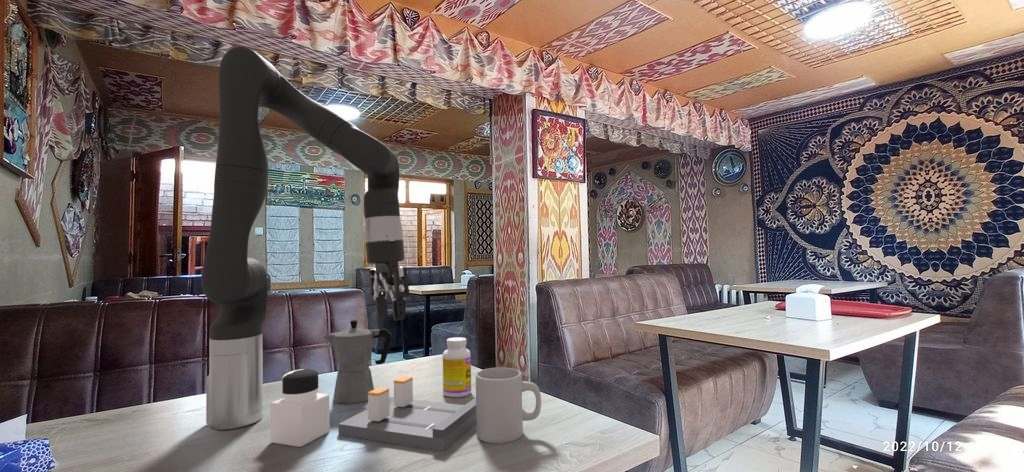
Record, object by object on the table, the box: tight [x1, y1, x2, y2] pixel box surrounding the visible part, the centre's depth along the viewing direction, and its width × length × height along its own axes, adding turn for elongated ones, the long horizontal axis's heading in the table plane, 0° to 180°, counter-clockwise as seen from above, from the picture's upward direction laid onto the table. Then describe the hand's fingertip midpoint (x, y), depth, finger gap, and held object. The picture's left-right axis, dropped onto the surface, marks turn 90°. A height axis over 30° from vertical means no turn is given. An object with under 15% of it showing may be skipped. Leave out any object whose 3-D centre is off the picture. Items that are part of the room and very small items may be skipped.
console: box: [337, 396, 476, 452], centre depth 86 cm, size 22×16×4 cm
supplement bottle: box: [442, 336, 472, 398], centre depth 105 cm, size 7×7×13 cm
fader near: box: [367, 386, 390, 421], centre depth 84 cm, size 2×3×5 cm
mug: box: [475, 367, 542, 444], centre depth 81 cm, size 12×8×11 cm
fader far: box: [393, 375, 414, 407], centre depth 92 cm, size 2×3×5 cm
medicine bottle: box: [269, 368, 330, 448], centre depth 82 cm, size 7×7×12 cm
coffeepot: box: [323, 319, 394, 405], centre depth 104 cm, size 15×9×18 cm, turn 100°
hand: (390, 318), depth 91 cm, fingers open, 8 cm apart
